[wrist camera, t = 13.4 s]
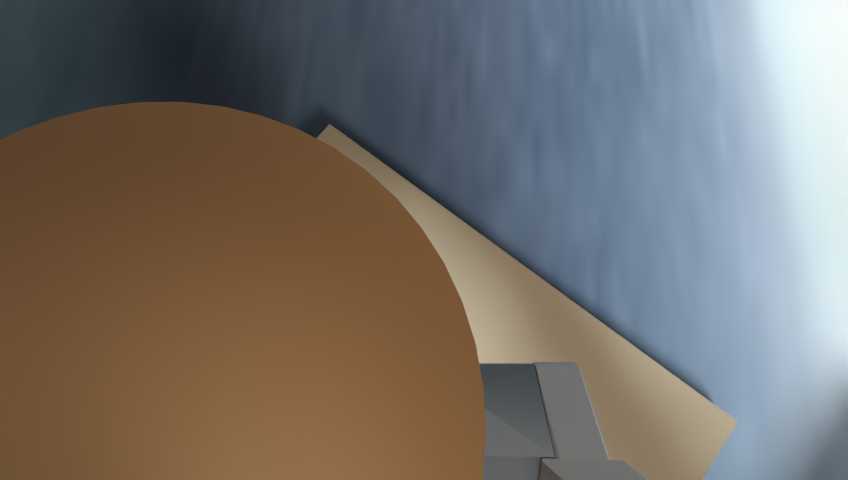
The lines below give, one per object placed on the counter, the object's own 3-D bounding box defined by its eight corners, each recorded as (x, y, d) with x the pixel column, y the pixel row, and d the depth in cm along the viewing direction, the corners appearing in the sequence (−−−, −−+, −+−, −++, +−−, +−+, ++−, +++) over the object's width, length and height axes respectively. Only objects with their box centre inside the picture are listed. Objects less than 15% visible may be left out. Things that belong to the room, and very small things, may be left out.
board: (405, 933, 18) (404, 958, 17) (-17, 519, 21) (-38, 520, 20) (723, 424, 22) (738, 421, 21) (333, 137, 25) (329, 124, 24)
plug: (386, 592, 15) (350, 982, 4) (192, 525, 15) (-416, 691, 4) (447, 389, 16) (561, 205, 5) (266, 331, 17) (-23, 30, 5)
